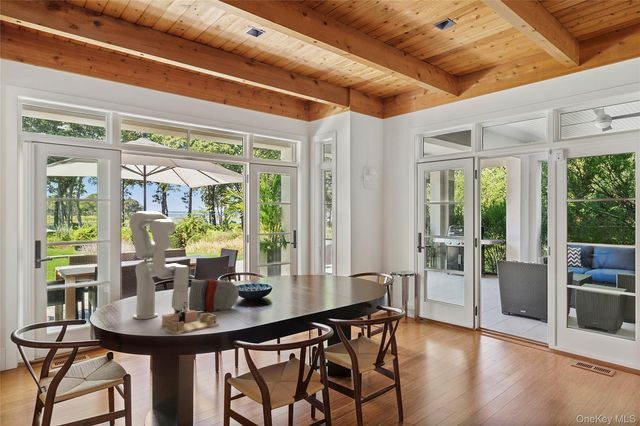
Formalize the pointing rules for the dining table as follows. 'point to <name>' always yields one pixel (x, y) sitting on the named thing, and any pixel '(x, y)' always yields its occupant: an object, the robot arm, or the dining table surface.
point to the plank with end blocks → (191, 324)
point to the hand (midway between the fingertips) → (179, 321)
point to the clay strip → (189, 317)
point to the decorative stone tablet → (212, 295)
